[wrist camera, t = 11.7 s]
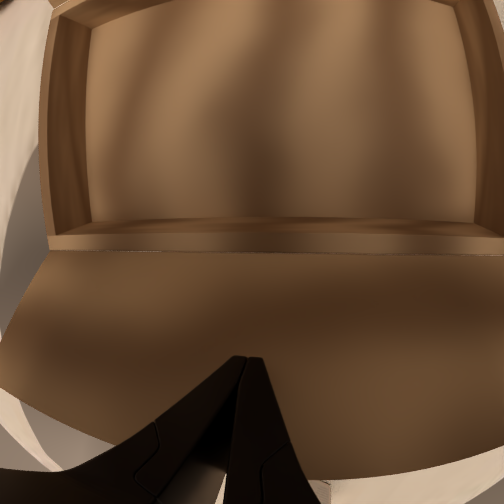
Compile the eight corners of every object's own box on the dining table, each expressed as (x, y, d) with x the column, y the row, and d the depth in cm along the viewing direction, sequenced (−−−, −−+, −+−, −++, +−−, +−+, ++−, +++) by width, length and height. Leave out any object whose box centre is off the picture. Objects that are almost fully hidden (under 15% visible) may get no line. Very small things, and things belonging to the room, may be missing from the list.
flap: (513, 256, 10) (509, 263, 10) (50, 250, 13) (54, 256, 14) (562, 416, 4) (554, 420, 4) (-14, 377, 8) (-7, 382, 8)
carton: (456, 4, 9) (483, -21, 5) (476, 234, 13) (515, 255, 10) (89, 26, 13) (52, 10, 9) (90, 232, 17) (49, 249, 14)
